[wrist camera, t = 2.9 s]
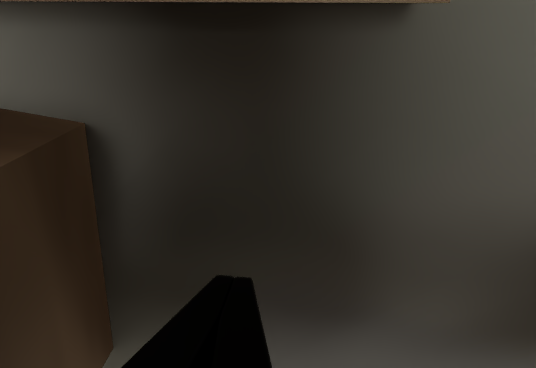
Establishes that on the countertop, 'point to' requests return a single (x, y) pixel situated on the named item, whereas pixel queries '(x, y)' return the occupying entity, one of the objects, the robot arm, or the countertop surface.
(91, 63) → the countertop surface
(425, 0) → the socket collar
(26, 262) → the brown cardboard box
